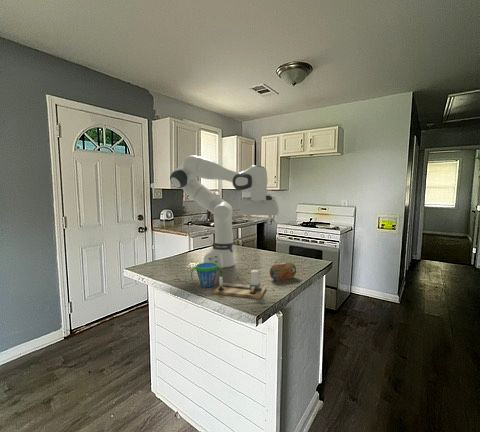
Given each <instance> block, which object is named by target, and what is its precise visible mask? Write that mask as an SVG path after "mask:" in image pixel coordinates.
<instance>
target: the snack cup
mask: <svg viewBox="0 0 480 432" xmlns="http://www.w3.org/2000/svg"><path fill="white" fill-rule="evenodd" d="M200 263H201V262H200ZM200 263H199V264H197V265H196V266H194V267H193V268H192V269H191V271H190V276H191V277H190V278H191V281H193V280H194V279H193V272H194V270H196V273H197V277H198V282H199V287H201V288H205V289H206V288H212V287H214V286H215V285H216V279H217V271H218V269H220V273H221V276H220V277H224V271H223V268H221V267H220V266H219V265H217V264H216V263H201V264H200ZM218 267H219V268H218Z"/></svg>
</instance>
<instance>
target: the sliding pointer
mask: <svg viewBox="0 0 480 432" xmlns="http://www.w3.org/2000/svg"><path fill="white" fill-rule="evenodd" d="M249 285H250V288H251V292H252V293H253V292H254V289H259V287H260V286H261V282H260V270H259V269H252V270H251V271H250V283H249Z"/></svg>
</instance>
